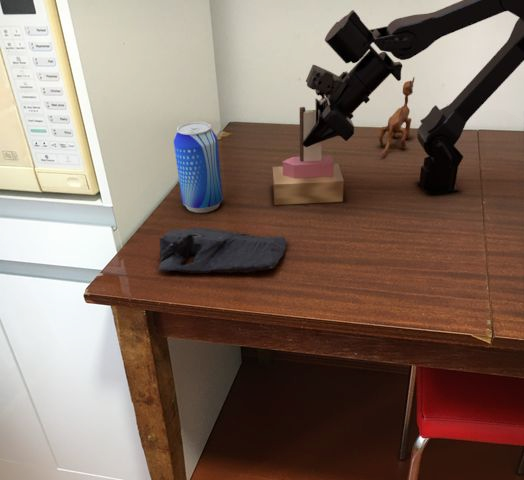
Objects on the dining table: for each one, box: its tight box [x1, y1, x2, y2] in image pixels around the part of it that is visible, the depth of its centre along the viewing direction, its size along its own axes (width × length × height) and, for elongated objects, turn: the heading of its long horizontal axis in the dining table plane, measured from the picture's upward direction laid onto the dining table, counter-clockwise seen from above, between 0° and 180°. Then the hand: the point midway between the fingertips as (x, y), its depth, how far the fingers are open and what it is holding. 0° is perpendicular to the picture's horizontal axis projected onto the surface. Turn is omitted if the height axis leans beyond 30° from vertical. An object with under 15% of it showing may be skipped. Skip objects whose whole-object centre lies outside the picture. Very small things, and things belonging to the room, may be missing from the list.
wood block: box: [272, 163, 345, 206], centre depth 124 cm, size 14×9×4 cm, turn 91°
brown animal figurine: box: [378, 76, 415, 156], centre depth 140 cm, size 18×7×14 cm, turn 153°
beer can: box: [173, 121, 224, 214], centre depth 119 cm, size 8×8×16 cm
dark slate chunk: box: [157, 227, 288, 274], centre depth 105 cm, size 15×22×5 cm
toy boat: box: [282, 106, 335, 178], centre depth 119 cm, size 10×4×13 cm, turn 91°
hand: (303, 142), depth 119 cm, fingers open, 3 cm apart
